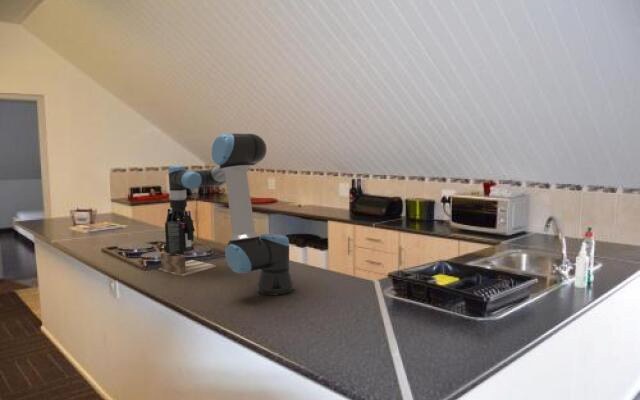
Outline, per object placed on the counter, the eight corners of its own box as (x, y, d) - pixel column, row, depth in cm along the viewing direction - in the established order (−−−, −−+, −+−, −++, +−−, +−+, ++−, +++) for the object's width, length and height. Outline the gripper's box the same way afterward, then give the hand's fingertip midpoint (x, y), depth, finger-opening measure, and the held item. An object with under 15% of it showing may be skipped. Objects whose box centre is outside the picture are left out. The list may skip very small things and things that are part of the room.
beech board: (216, 266, 238) (216, 250, 237) (183, 276, 223) (182, 258, 221) (192, 261, 249) (191, 245, 248) (158, 269, 233) (158, 253, 232)
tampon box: (184, 254, 225) (182, 223, 223) (165, 254, 227) (164, 222, 225) (194, 249, 236) (193, 219, 234) (177, 248, 238) (175, 218, 236)
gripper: (201, 200, 224) (203, 246, 227) (169, 196, 238) (171, 240, 241) (188, 201, 218) (190, 249, 221) (155, 197, 232) (158, 243, 235)
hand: (180, 244), depth 231 cm, fingers closed on tampon box, 11 cm apart
